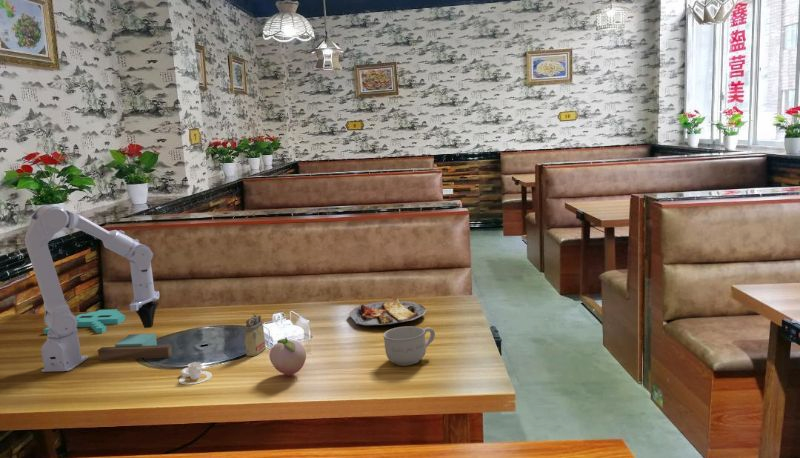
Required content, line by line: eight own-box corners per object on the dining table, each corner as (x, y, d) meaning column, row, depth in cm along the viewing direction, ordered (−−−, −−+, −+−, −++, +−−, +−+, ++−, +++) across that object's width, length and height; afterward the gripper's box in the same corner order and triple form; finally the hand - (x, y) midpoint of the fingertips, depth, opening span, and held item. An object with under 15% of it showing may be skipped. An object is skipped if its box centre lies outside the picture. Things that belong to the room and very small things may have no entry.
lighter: (254, 357, 161) (251, 321, 159) (242, 356, 162) (238, 321, 160) (268, 347, 167) (264, 313, 166) (256, 346, 169) (252, 313, 167)
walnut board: (168, 357, 164) (167, 347, 164) (99, 360, 165) (97, 350, 165) (171, 354, 166) (170, 344, 166) (103, 357, 167) (101, 347, 167)
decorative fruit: (315, 374, 147) (311, 336, 145) (287, 386, 141) (283, 346, 139) (293, 365, 153) (290, 328, 152) (266, 375, 148) (262, 337, 146)
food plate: (343, 312, 197) (342, 302, 196) (409, 302, 203) (409, 292, 203) (361, 336, 173) (360, 324, 172) (435, 323, 180) (435, 312, 179)
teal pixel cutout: (102, 334, 189) (135, 314, 209) (101, 327, 189) (135, 308, 209) (44, 335, 191) (83, 316, 211) (43, 329, 191) (82, 310, 211)
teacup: (391, 372, 145) (389, 341, 144) (380, 357, 155) (378, 328, 154) (444, 363, 149) (442, 333, 147) (430, 348, 159) (429, 320, 158)
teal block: (144, 357, 167) (142, 343, 166) (116, 357, 167) (114, 344, 167) (157, 346, 175) (155, 333, 174) (131, 347, 175) (129, 334, 174)
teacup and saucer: (178, 375, 152) (177, 360, 151) (211, 369, 155) (209, 355, 154) (179, 388, 144) (177, 373, 143) (213, 382, 147) (211, 366, 146)
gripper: (144, 289, 168) (150, 334, 171) (166, 276, 183) (171, 319, 185) (120, 290, 169) (126, 335, 171) (144, 277, 183) (150, 319, 185)
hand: (148, 327), depth 178 cm, fingers closed
